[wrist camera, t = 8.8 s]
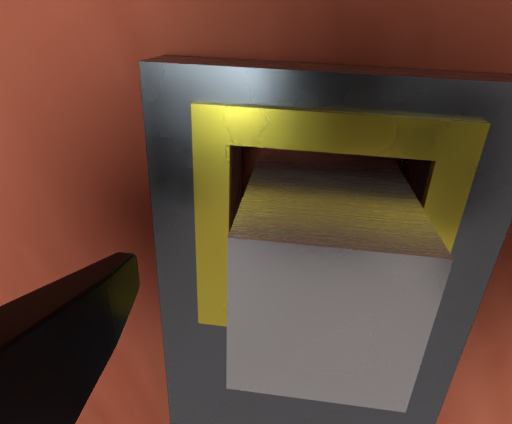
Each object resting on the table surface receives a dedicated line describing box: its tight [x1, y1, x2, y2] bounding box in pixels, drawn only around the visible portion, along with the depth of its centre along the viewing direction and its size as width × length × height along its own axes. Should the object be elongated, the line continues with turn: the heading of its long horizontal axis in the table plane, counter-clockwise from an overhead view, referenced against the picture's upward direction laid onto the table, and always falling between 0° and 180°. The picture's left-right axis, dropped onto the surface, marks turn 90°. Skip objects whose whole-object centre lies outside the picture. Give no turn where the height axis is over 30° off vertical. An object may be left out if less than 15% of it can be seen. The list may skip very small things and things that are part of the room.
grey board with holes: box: [139, 55, 512, 424], centre depth 15 cm, size 10×21×2 cm, turn 177°
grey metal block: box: [226, 148, 454, 413], centre depth 11 cm, size 4×4×6 cm
